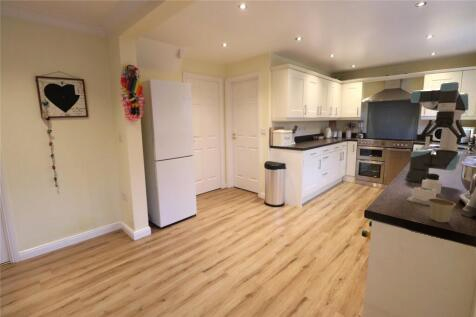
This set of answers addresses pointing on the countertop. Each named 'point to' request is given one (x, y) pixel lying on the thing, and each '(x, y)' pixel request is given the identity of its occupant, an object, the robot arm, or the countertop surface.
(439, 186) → the medicine bottle
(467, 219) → the countertop surface
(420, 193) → the cream cube
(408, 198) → the hub plate
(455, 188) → the countertop surface
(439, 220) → the flower pot
